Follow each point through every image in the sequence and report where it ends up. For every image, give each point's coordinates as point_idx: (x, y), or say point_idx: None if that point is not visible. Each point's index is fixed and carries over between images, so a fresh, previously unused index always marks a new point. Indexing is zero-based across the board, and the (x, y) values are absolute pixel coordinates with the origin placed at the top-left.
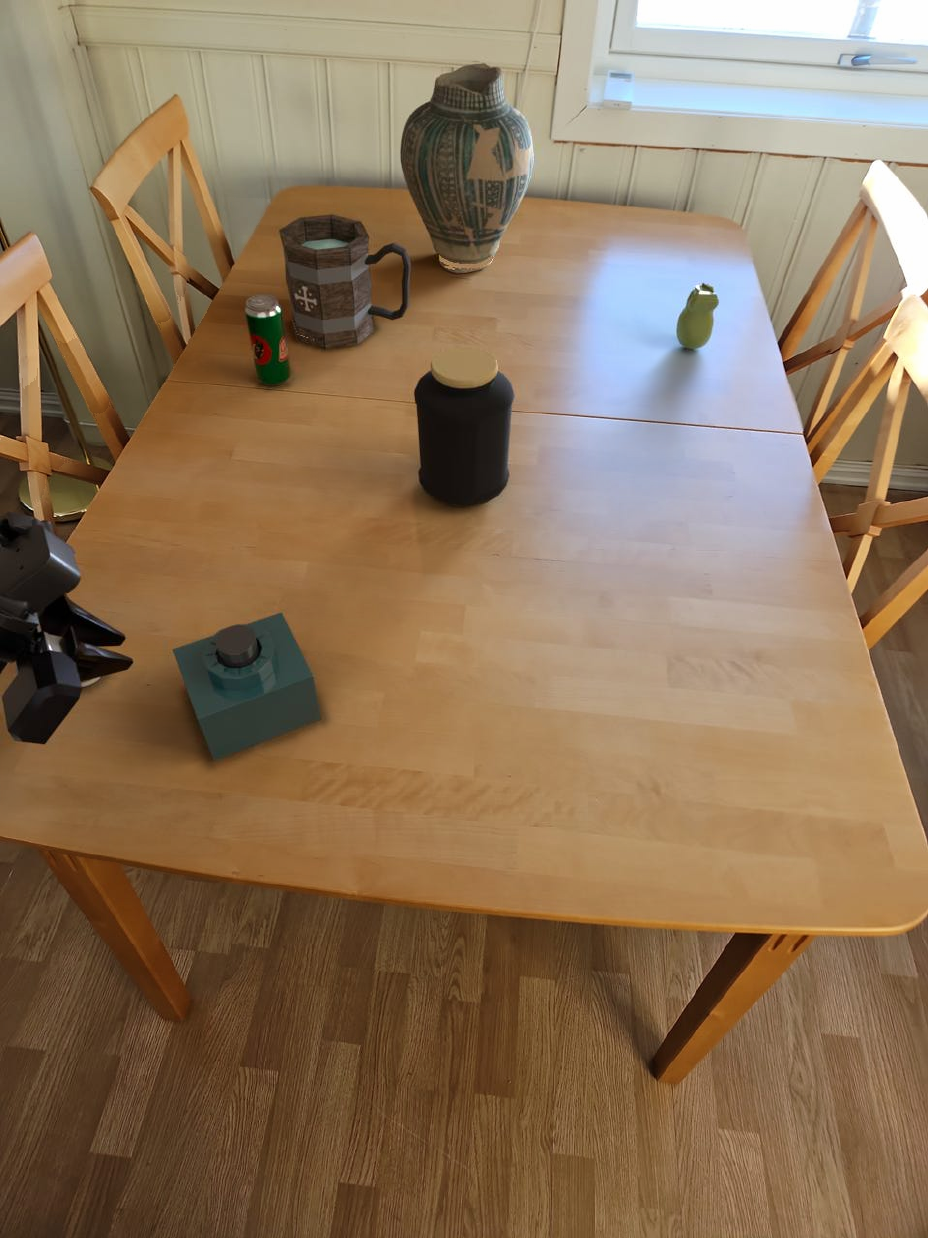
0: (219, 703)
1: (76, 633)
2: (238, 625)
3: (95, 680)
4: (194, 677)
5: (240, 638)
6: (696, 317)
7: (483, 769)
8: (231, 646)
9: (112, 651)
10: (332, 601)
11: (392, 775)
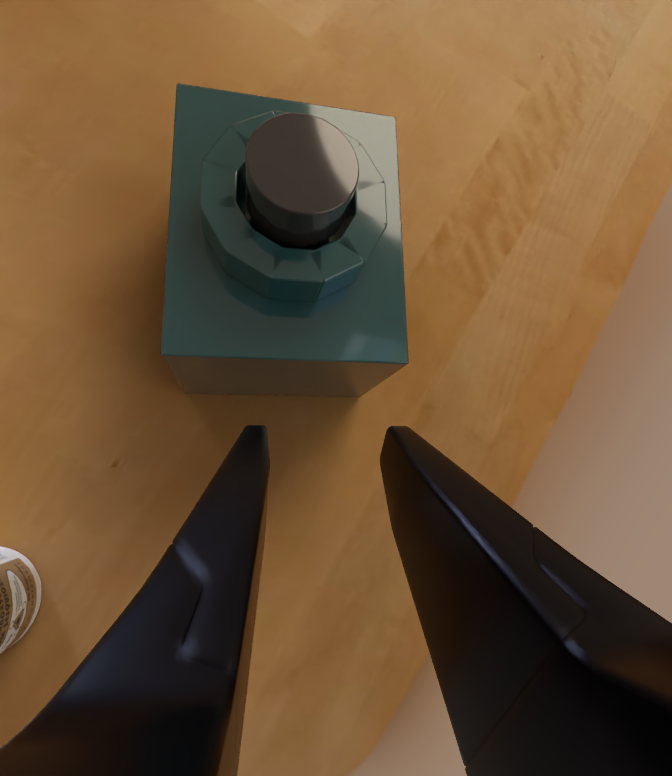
0: (387, 307)
1: (248, 653)
2: (256, 133)
3: (38, 576)
4: (285, 333)
5: (307, 149)
6: None
7: (522, 75)
8: (324, 181)
9: (433, 483)
10: (92, 71)
11: (489, 173)
